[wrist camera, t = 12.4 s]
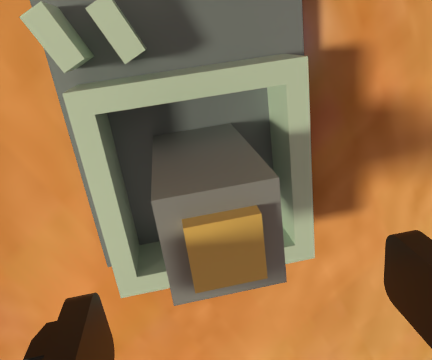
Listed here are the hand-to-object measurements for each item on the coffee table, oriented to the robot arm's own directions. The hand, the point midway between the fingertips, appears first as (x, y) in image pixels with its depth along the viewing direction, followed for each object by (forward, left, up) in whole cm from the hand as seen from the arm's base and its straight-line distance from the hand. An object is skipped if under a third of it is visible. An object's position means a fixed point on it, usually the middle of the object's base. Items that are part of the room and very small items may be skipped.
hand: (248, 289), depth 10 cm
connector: (0, 0, -10) cm, 10 cm away
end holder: (0, 0, -10) cm, 10 cm away
